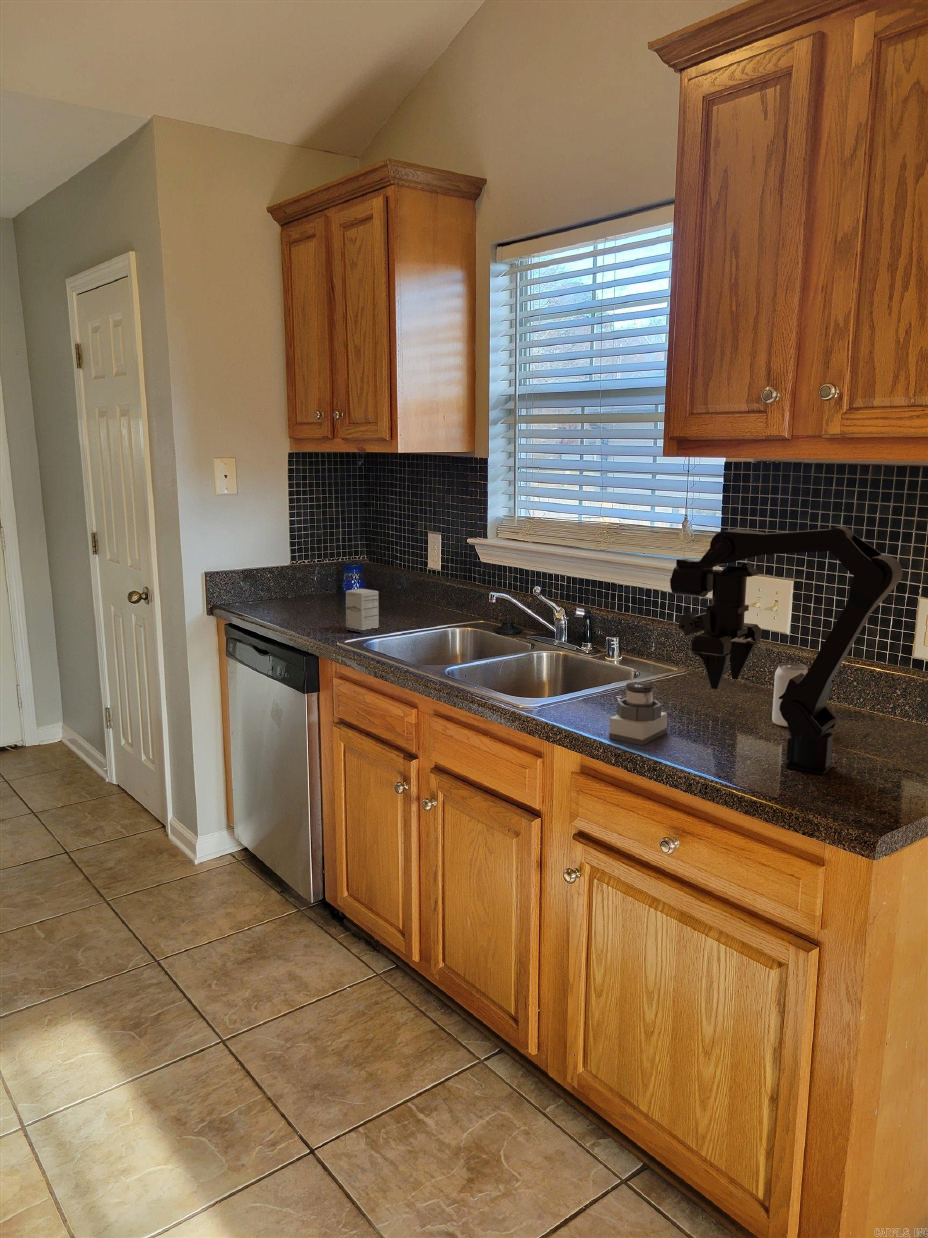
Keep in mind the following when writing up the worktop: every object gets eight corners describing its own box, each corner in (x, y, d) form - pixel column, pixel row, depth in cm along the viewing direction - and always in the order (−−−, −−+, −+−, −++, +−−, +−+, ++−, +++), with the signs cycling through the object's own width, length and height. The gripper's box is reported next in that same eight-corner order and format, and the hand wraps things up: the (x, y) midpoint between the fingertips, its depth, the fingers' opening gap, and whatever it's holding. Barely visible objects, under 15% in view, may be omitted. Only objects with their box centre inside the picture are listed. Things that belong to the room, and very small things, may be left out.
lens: (657, 714, 177) (658, 684, 176) (644, 720, 173) (645, 690, 172) (633, 710, 180) (634, 680, 179) (620, 715, 176) (621, 685, 175)
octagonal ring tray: (668, 733, 178) (669, 700, 177) (643, 745, 171) (645, 712, 169) (632, 725, 183) (633, 694, 182) (607, 737, 175) (608, 704, 174)
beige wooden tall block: (345, 631, 279) (344, 590, 277) (363, 627, 285) (362, 587, 283) (361, 634, 275) (361, 593, 272) (379, 631, 280) (379, 590, 278)
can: (778, 717, 190) (782, 660, 187) (810, 723, 186) (814, 665, 183) (766, 724, 185) (770, 666, 183) (798, 730, 181) (803, 671, 178)
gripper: (707, 590, 176) (704, 668, 179) (664, 602, 162) (661, 687, 165) (764, 595, 170) (760, 676, 172) (724, 607, 155) (720, 697, 158)
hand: (724, 684), depth 167 cm, fingers open, 9 cm apart
